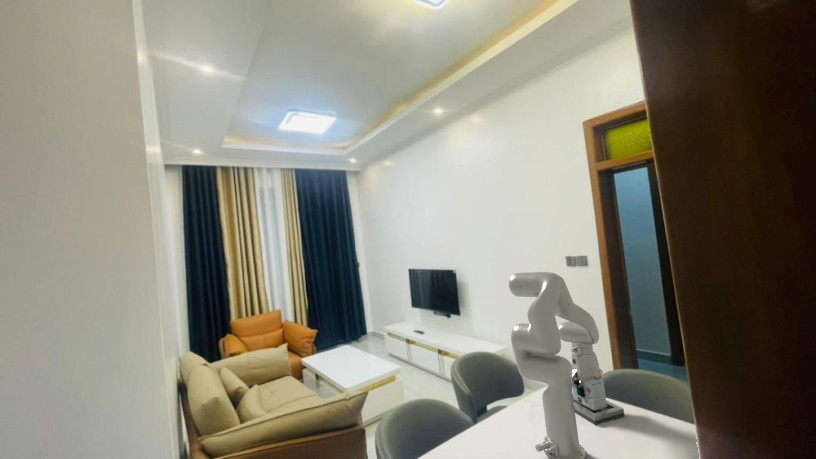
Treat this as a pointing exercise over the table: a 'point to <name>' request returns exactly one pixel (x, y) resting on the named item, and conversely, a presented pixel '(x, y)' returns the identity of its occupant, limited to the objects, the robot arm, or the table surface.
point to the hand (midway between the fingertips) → (588, 393)
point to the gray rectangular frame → (599, 412)
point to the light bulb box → (591, 394)
